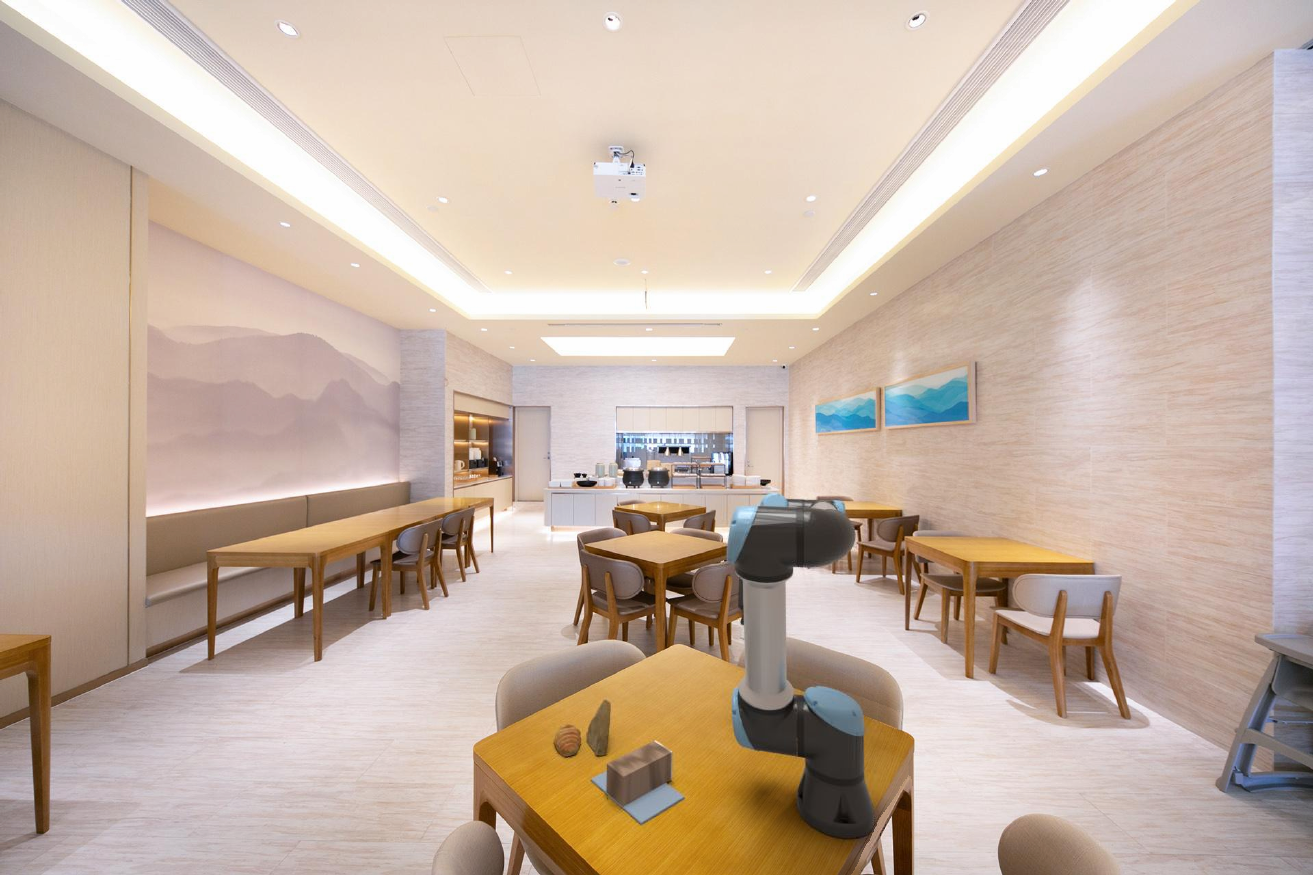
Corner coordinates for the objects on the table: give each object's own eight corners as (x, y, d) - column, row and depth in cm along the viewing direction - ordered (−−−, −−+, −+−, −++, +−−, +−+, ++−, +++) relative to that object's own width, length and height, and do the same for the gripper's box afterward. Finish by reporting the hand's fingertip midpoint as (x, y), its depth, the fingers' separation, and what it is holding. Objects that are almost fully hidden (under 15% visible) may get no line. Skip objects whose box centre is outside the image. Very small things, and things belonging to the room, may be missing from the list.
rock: (615, 750, 119) (626, 723, 129) (594, 721, 120) (607, 696, 130) (582, 770, 122) (596, 743, 131) (562, 741, 122) (577, 716, 132)
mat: (684, 798, 106) (684, 796, 106) (641, 824, 98) (641, 822, 98) (632, 759, 119) (632, 758, 119) (590, 780, 111) (590, 778, 111)
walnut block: (672, 751, 112) (623, 776, 103) (672, 778, 112) (623, 806, 102) (655, 740, 116) (606, 763, 107) (655, 766, 116) (606, 791, 107)
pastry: (583, 756, 121) (583, 740, 121) (555, 760, 119) (555, 744, 119) (579, 736, 130) (579, 721, 130) (553, 739, 128) (553, 724, 129)
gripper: (788, 566, 142) (767, 649, 132) (744, 552, 146) (720, 632, 136) (790, 559, 136) (767, 646, 126) (744, 544, 140) (718, 627, 130)
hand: (743, 638), depth 131 cm, fingers closed
